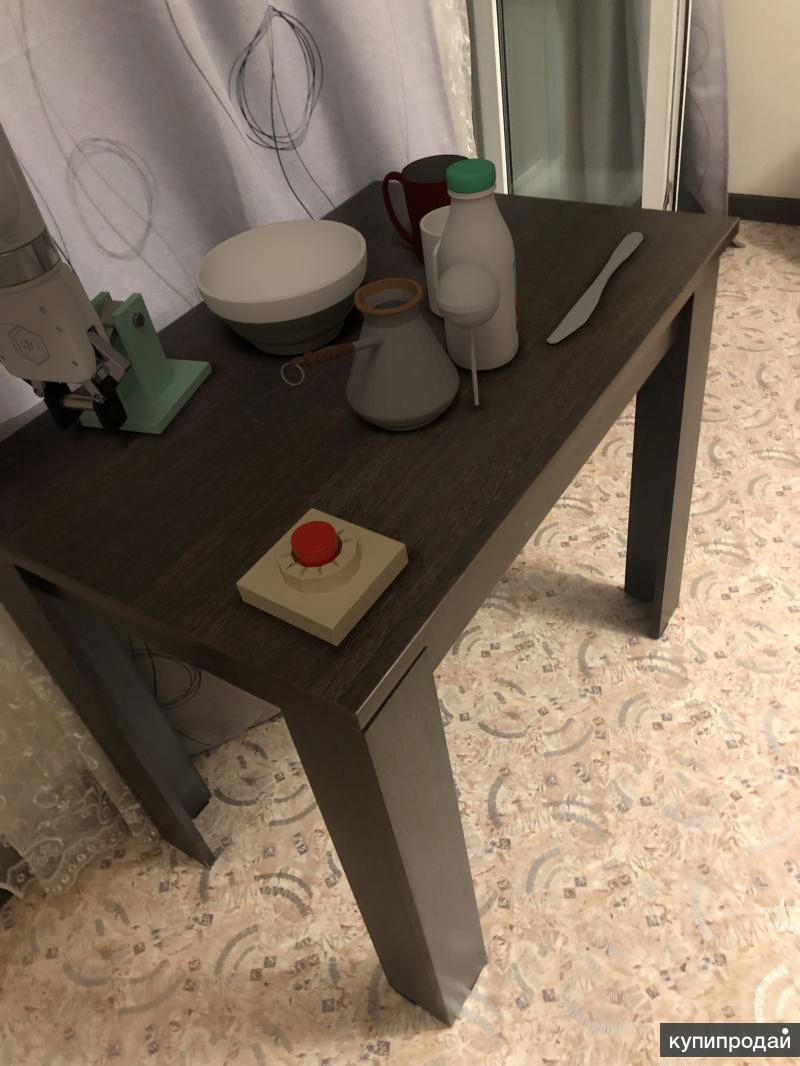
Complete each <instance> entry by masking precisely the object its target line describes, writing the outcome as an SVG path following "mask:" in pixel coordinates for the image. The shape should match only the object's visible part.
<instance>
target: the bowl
mask: <svg viewBox="0 0 800 1066" xmlns="http://www.w3.org/2000/svg"><path fill="white" fill-rule="evenodd" d="M367 265H368V253H367V243H366V239H365V238H364V236H363V235H362V233H361V232H360V231H358V230H357V229H356V228H355V227H352V226H350V225H348V224H346V223H343V222H338V221H335V220H330V219H329V220H328V219H319V218H318V219H317V218H315V219H314V218H313V219H311V218H310V219H309V218H307V219H306V218H305V219H304V218H303V219H291V220H285V221H284V220H283V221H278V222H273V223H269V224H266V225H265V224H264V225H261V226H257V227H254V228H251V229H248V230H245V231H243V232H241V233H238V234H235V235H233V236H231V237H229V238H227V239H226V240H223V241H222V242H220V243H219V244H217V245H216V246H214V247H213V248H212V249H210V250H209V251H208V252H206V254H205V255H204V256H203V257H202V258H201V259H200V260H199V262H198V264H197V266H196V267H195V270H194V274H193V278H194V279H193V280H194V283H195V285H196V288H197V291H198V293H199V295H200V296H201V298H202V299H203V301H204V304H206V306H207V308H208V309H209V310H210V311H211V312H212V313H213V314H215V315H216V316H217V317H218V318H219V319H220V320H221V321H222V322H223V323H225V324H226V325H228V326H230V327H231V328H232V330H233V331H234V332H235V333H236V334H238V335H240V336H241V337H242V338H244V339H245V340H247V341H250V343H251V344H252V345H253V346H254V347H255V348H256V349H257V350H259V351H261V352H263V353H266V354H268V355H272V356H273V355H274V356H295V355H301V354H302V355H303V354H304V353H306V352H312V351H315V350H319V349H321V348H323V347H325V346H326V345H328V344H329V343H331V342H332V341H334V340H335V338H337V337H338V336H339V335H340V333H341V331H342V330H343V328H344V324H345V322H346V318H347V317H348V316H349V314H350V313H351V311H352V309H353V307H354V306H355V303H354V297H355V292H356V290H357V289H358V288H360V287H362V284H363V281H364V279H365V276H366V273H367Z"/></svg>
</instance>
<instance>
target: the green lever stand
mask: <svg viewBox="0 0 800 1066" xmlns="http://www.w3.org/2000/svg"><path fill="white" fill-rule="evenodd" d="M105 300H113V298H112V296H111V293H110V291H100V292H99V293H98V294H97V295H96V296H94V297H93V298H92V299H91V300H90V301H91V303H92V305H93V307H94V309H95V311H96V313H97V314H98V316H99V315H100V313H101V310H102V308H103V305H104V303H105ZM123 301H124V302H123V303H122V304H121V305H120V306H119V307H118V308H117V309H116V310H115V311H114V312H113V313H112V314H111V317H112V319H113V321H114V324H115V326H116V328H117V331H118V333H119V335H120V336H117V339H116V341H115V344H114V346H113V348H114V349H115V350H116V351H117V352H118V353H120V354H121V355H122V356H123V357H124V358H125V359H127V360H128V361H129V362H130V363H131V365H132V368H131V369H130V370H129V371H128V372H127V374H126V375H125V376H124V377H123V379H122V380H121V382H120V384H119V387H118V388H117V389H116V391H117V394H118V396H119V398H120V400H121V402H122V405H123V407H124V409H125V411H126V414H127V416H128V418H127V421H126V422H125V423H124V424H123V425H122V426H121V427H120V429H119V430H118V431H128V432H136V433H137V432H138V433H145V434H155V435H162V433H163V432H164V430H165V429H166V428H167V427H168V425H169V424H170V423H171V422H172V421H173V420H174V418H175V417H176V416H177V414H178V413H179V412H180V411H181V410H182V408H183V407H184V406H185V405H186V403H187V402H188V401H189V400H190V399H191V397H193V395H194V394H195V392H196V391H197V390H198V389H199V388H200V387H201V385H202V384H203V382H204V381H205V380H206V379H207V378H208V376H209V375H210V374H211V373H212V371H213V368H212V365H211V363H210V361H205V360H204V361H203V360H202V361H201V360H189V359H177V358H167V357H166V354H165V351H164V349H163V346H162V344H161V341H160V339H159V336H158V334H157V331H156V329H155V325H154V323H153V320H152V318H151V315H150V313H149V310H148V308H147V305H146V302H145V300H144V297H143V294H142V293H141V292H133V293H131V295H129V296H128V298H127V299H125V300H123ZM78 420H79V421H80V423H81V425H82V426H83V427H88V428H89V427H90V428H98V429H103V427H102V425H101V423H100V421H99V419H98V417H97V415H96V413H95V411H86V410H83V412H81V415H80V416H79V417H78Z"/></svg>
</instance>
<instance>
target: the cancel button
mask: <svg viewBox="0 0 800 1066" xmlns="http://www.w3.org/2000/svg"><path fill="white" fill-rule="evenodd" d="M291 545H292V548H293V551H294V554H295V557H296V560H297V561H298V562H299V563H300V564H301V565H303V566H305V567H321V566H323V565H325V564H328V563H330V562H332V561H333V560H334V559H335V558H336V557H337V555H338V553H339V543H338V539H337V535H336V532H335V529H334V527H333V526H332V525H331V524H329V523H327V522H324V521H311V522H308V523H305V524H303V525H301V526H299V527H298V528H297V529H296V530H295V531H294V532H293V534H292V536H291Z"/></svg>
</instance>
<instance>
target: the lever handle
mask: <svg viewBox="0 0 800 1066" xmlns="http://www.w3.org/2000/svg"><path fill="white" fill-rule="evenodd" d="M124 301H125V300H116V299H115V300H113V299H112V300H105V303H104V305H103V308H102V310H101V313H100V315H99V318H100V320H101V323H102V325H103V327H104V329H105V331H106V333H107V336H108V338H109V341H110V344H111V346H112V347H113V346H114V344H115V341H116V339H117V336H120V335H119V333H118V331H117V328H116V326H115V324H114V321H113V319H112V317H111V314H112V313H113V312H114V311H115V310H116V309H117V308H118V307H119V306H120V305H121V304H122V303H123V302H124ZM93 378H94V379H95V381H96V382H97V383H98V385H99V386H100V384H101V381H102V379H101V378H100V376H99V375H98V374H97V373H96V374H95V375H94V376H93ZM94 401H95V400H94V398H93V397H92V396H91V394H90V393H89V392H88V390H87V389H86V388H85V386H84V385H83V384H82V385H81V387H80V390H79V392H78V394H73V395H70V394H62V395H60V397H59V405H60V407H61V408H66V409H76V410H81V411H85V410H86V411H94V409H93V406H92V404H93V402H94Z"/></svg>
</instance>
